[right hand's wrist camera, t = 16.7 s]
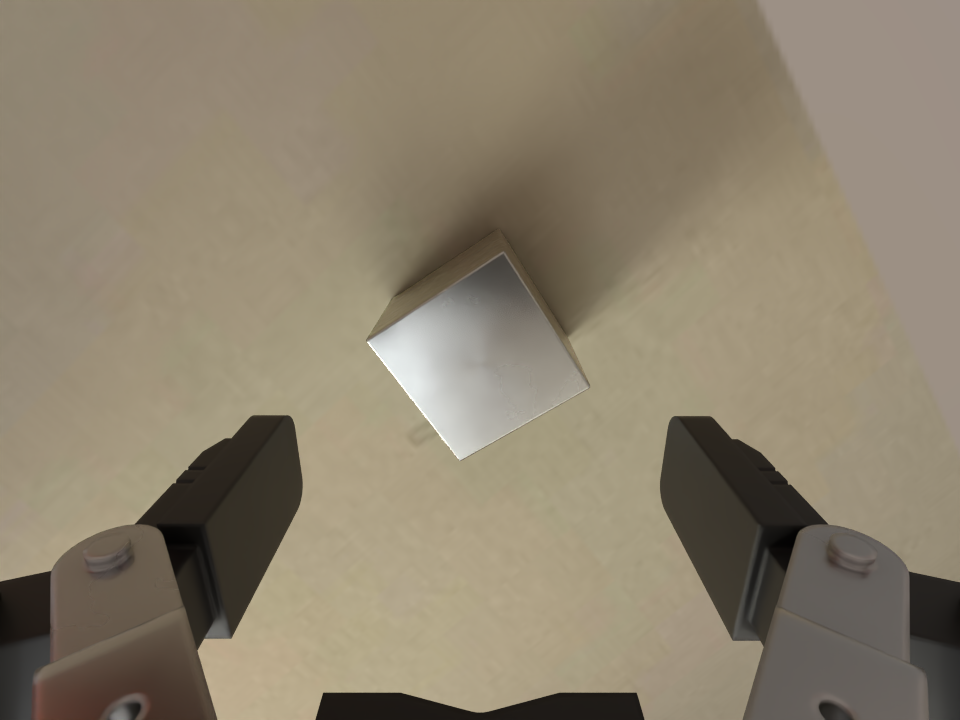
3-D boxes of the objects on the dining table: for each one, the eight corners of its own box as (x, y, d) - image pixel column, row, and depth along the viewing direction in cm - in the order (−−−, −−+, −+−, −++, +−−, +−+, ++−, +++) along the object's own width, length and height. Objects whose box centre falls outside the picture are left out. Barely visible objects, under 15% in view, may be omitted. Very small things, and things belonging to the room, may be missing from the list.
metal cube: (499, 227, 19) (504, 249, 15) (568, 338, 21) (591, 388, 16) (389, 300, 20) (364, 340, 16) (463, 400, 22) (459, 462, 17)
